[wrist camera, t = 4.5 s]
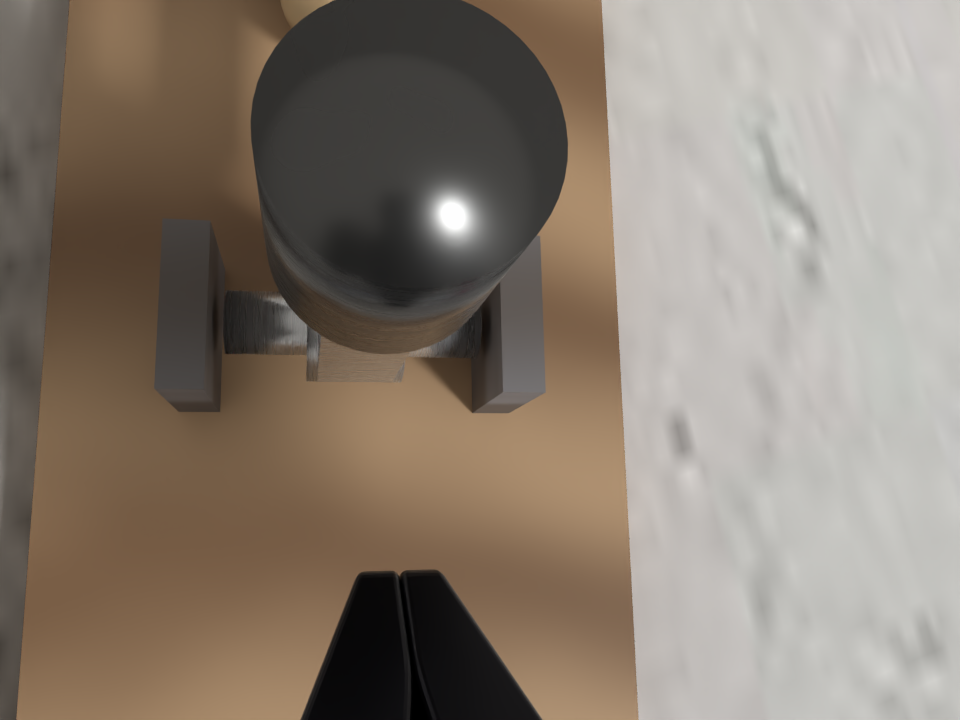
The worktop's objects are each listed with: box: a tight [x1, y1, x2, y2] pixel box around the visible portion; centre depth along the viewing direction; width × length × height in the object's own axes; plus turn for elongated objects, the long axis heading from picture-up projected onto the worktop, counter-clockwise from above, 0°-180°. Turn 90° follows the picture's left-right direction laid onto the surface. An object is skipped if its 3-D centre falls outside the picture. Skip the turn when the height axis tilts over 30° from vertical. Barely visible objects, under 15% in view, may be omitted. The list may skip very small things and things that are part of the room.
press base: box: [16, 0, 638, 720], centre depth 18 cm, size 19×12×4 cm, turn 1°
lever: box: [223, 0, 568, 382], centre depth 13 cm, size 6×5×11 cm
